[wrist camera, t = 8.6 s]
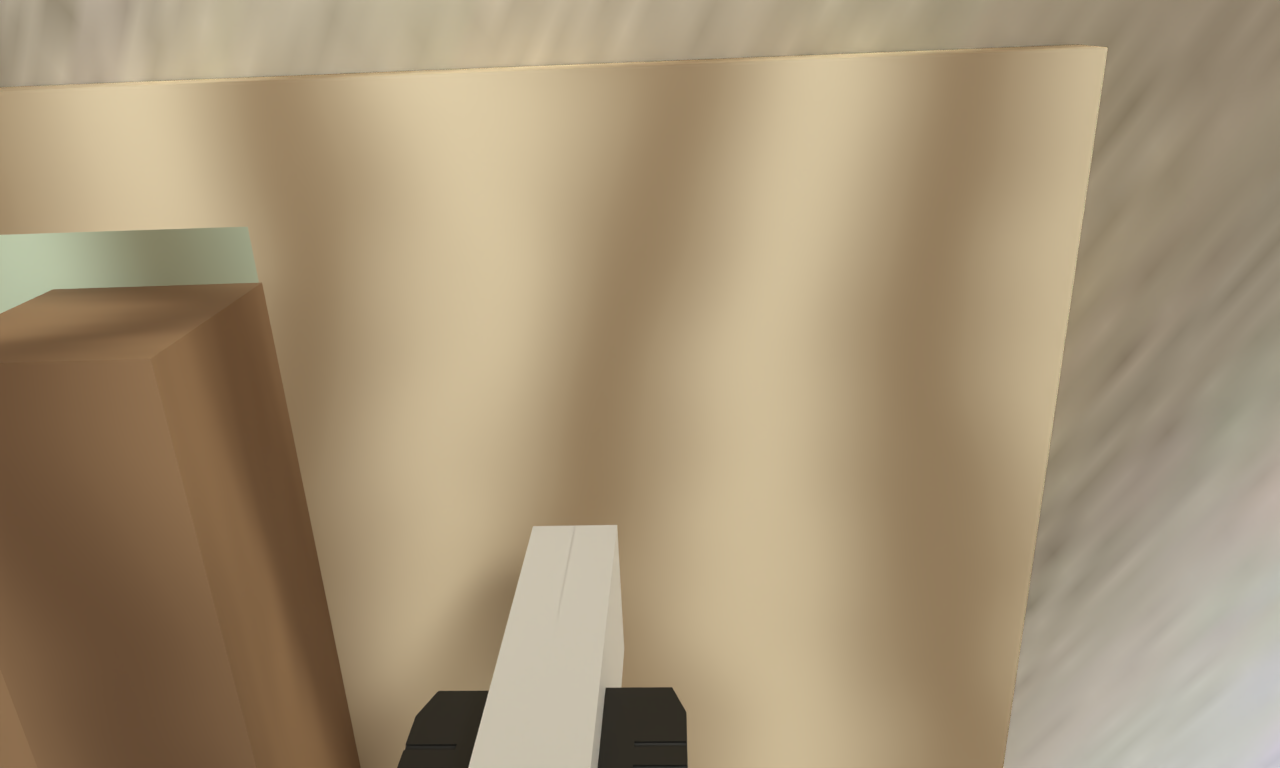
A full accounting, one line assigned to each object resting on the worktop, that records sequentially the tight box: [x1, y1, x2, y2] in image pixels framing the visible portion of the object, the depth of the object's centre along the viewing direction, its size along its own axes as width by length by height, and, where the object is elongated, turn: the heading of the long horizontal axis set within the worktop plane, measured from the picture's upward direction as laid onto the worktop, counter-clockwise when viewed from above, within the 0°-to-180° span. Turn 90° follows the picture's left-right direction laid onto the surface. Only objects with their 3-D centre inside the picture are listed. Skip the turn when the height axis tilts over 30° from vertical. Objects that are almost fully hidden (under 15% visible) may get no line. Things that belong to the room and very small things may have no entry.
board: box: [0, 45, 1108, 768], centre depth 20 cm, size 30×19×1 cm, turn 92°
